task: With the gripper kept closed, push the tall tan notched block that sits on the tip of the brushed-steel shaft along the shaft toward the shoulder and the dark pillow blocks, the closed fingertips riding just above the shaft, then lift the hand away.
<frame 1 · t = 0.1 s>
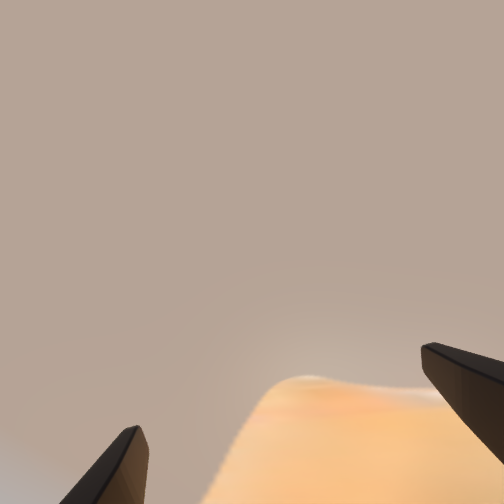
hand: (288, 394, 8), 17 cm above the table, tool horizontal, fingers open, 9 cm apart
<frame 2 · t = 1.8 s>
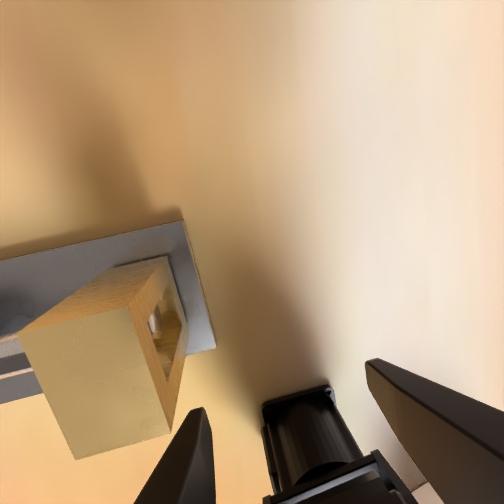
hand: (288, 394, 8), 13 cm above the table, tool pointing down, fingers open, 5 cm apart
tan notched block: (132, 333, 15), point 6 cm above the table, slide at 0.0 cm
shaft stand: (87, 310, 20), on the table
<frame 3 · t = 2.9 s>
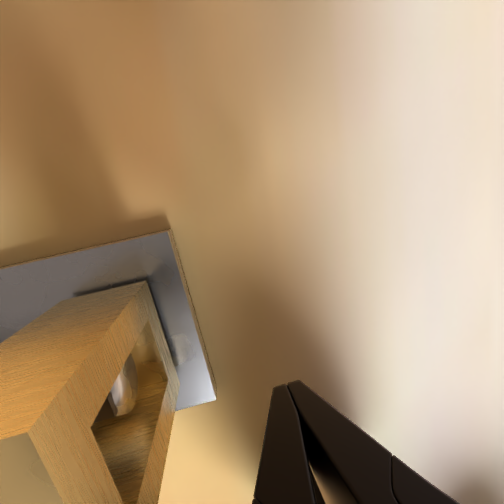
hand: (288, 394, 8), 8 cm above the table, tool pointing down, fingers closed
tan notched block: (84, 411, 9), point 6 cm above the table, slide at 0.0 cm
shaft stand: (40, 353, 15), on the table
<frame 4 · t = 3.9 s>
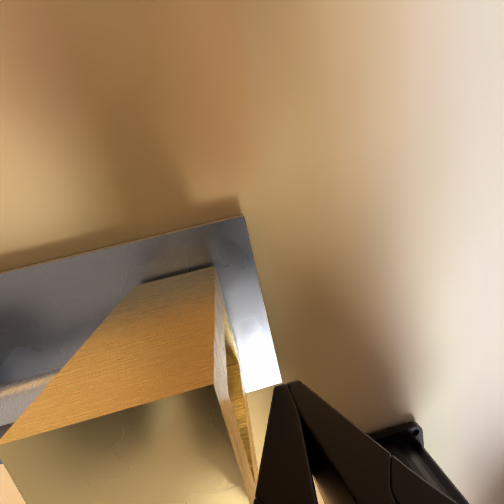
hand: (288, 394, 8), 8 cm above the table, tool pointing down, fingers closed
tan notched block: (181, 387, 10), point 6 cm above the table, slide at 0.5 cm, touching gripper
shaft stand: (114, 337, 15), on the table
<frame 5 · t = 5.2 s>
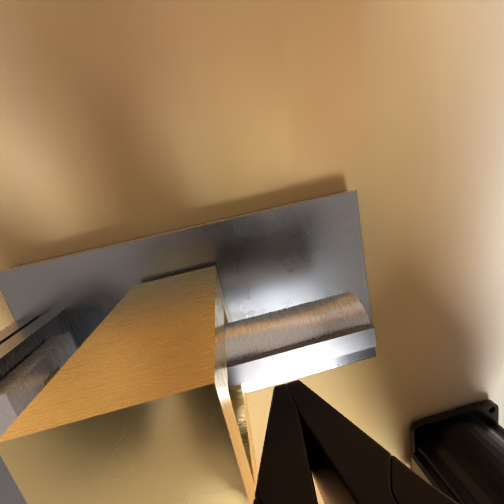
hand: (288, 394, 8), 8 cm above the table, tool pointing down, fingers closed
tan notched block: (181, 386, 10), point 6 cm above the table, slide at 6.4 cm, touching gripper
shaft stand: (218, 310, 15), on the table
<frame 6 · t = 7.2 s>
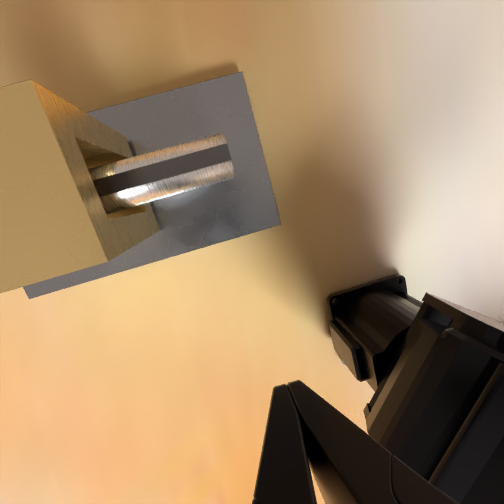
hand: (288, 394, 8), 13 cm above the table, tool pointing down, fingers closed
tan notched block: (78, 194, 13), point 6 cm above the table, slide at 6.5 cm
shaft stand: (143, 188, 19), on the table
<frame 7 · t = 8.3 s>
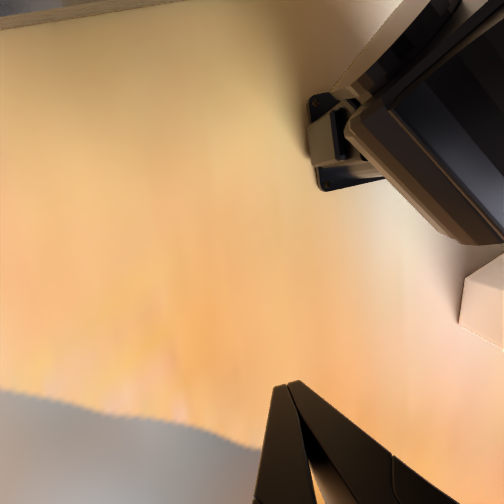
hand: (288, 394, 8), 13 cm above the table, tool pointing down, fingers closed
jar: (496, 296, 25), on the table
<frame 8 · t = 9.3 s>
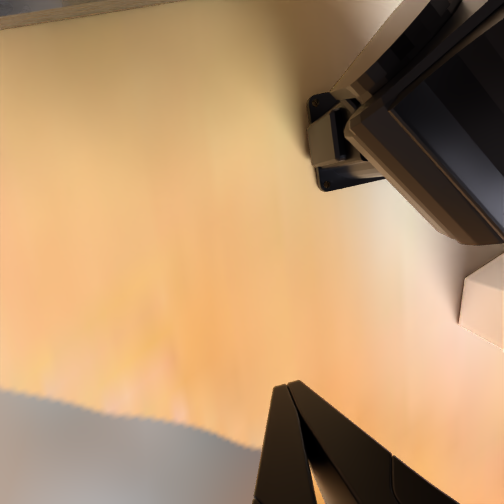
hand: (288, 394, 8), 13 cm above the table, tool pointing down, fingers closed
jar: (496, 296, 25), on the table
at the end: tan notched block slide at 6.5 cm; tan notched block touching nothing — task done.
